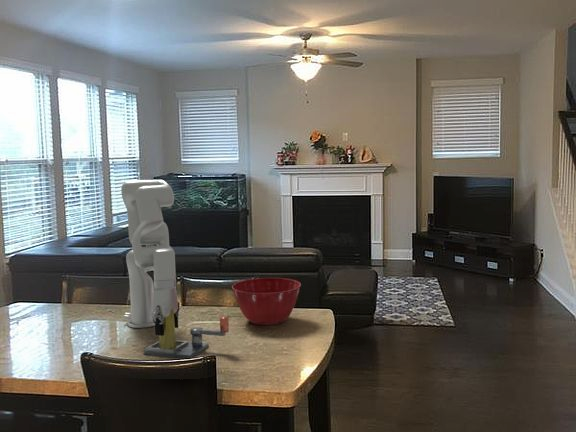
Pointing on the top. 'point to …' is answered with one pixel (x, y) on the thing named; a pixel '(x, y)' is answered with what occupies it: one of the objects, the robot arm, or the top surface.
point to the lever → (222, 332)
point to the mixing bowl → (266, 299)
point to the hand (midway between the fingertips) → (167, 331)
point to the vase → (168, 332)
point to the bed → (179, 348)
